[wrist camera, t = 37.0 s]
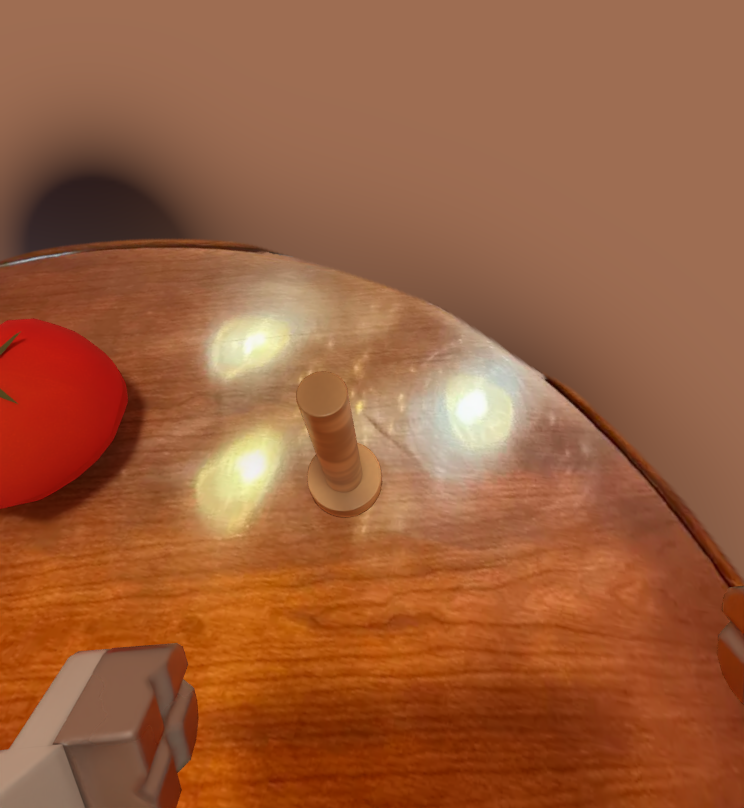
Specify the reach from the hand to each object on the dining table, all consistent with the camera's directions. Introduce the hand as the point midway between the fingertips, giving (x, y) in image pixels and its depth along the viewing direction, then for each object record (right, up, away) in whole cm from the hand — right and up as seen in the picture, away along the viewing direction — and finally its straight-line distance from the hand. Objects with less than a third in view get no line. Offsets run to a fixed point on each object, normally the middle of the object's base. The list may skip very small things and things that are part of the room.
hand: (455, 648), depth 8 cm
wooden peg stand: (-3, -2, +32) cm, 32 cm away
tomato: (-25, +1, +35) cm, 43 cm away
